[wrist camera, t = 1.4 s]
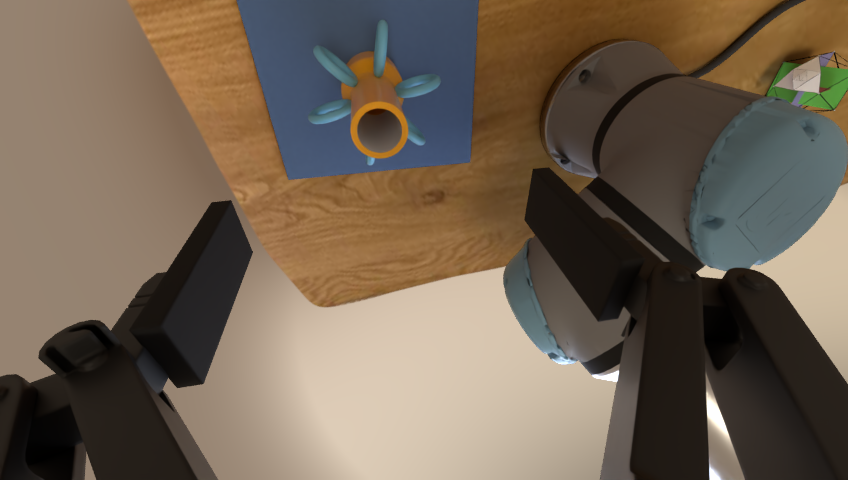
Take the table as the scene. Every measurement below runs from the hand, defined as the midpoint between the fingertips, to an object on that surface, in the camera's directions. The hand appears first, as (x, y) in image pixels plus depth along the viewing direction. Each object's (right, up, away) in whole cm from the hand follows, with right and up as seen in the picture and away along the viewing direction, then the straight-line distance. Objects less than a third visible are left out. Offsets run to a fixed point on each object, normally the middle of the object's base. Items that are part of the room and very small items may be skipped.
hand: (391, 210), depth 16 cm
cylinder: (-4, +15, +21) cm, 26 cm away
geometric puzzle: (+46, +19, +28) cm, 58 cm away
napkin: (-4, +15, +21) cm, 26 cm away
